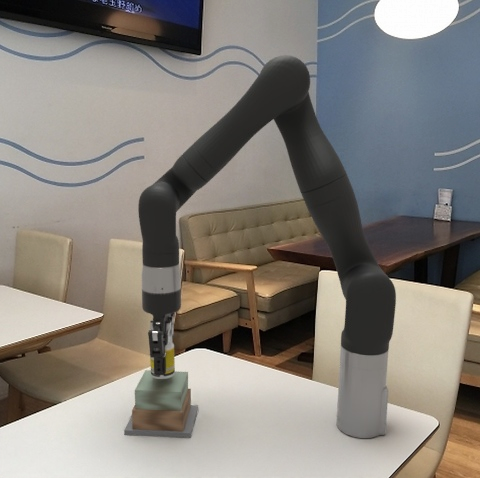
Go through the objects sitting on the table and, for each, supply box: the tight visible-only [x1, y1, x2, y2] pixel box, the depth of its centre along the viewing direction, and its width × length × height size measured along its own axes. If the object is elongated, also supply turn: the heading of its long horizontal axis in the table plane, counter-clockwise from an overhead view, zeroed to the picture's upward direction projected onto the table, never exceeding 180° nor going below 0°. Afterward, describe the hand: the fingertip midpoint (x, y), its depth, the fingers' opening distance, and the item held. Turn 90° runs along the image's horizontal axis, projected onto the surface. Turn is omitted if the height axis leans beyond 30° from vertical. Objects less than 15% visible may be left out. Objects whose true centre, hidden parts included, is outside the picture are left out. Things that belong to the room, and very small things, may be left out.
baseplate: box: [123, 404, 199, 439], centre depth 111 cm, size 13×11×1 cm
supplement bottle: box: [149, 333, 176, 379], centre depth 108 cm, size 5×5×8 cm
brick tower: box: [131, 369, 192, 431], centre depth 110 cm, size 10×10×8 cm
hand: (162, 368), depth 109 cm, fingers closed on supplement bottle, 4 cm apart
